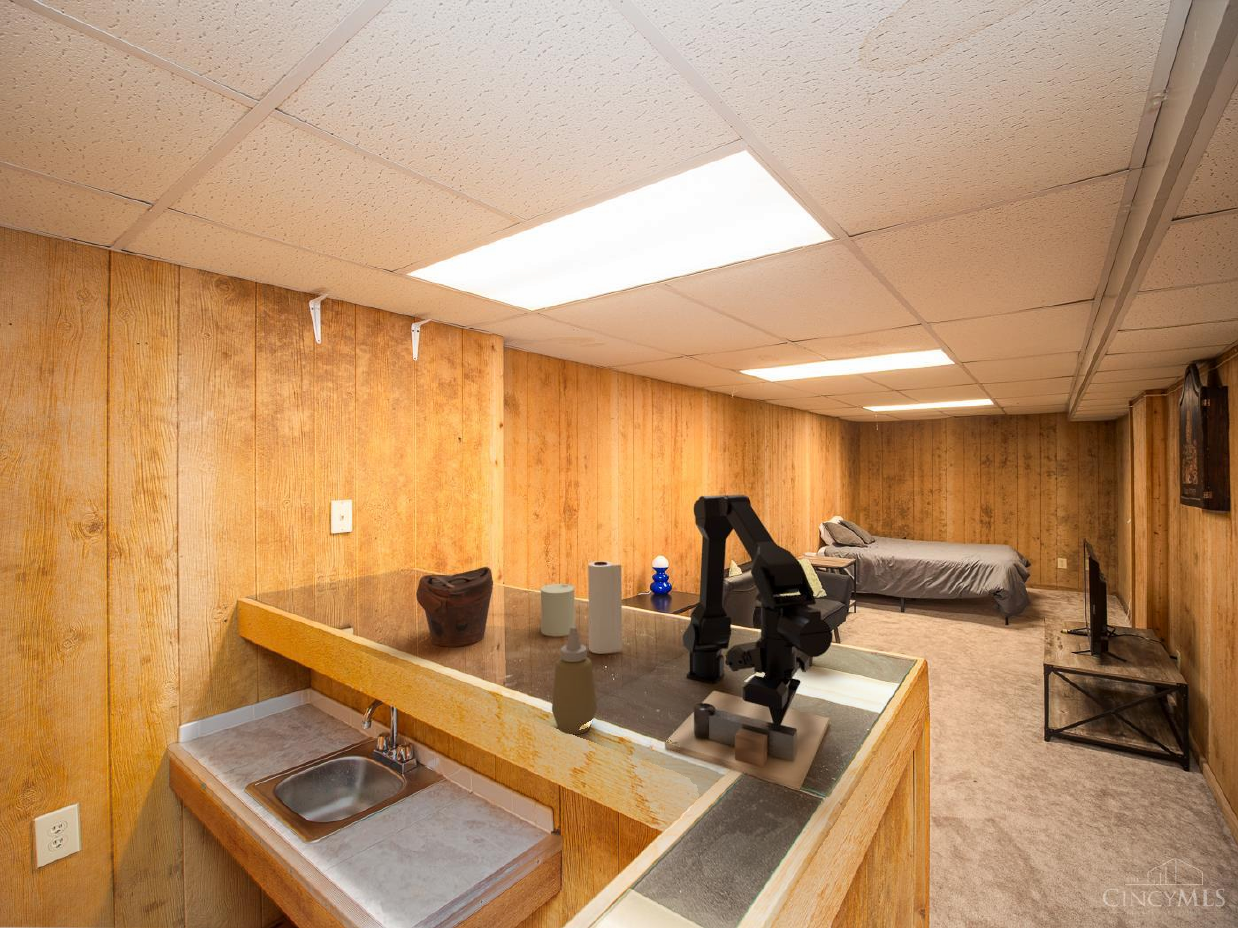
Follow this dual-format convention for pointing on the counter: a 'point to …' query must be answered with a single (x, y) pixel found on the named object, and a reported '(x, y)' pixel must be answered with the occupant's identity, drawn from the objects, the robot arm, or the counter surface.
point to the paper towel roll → (605, 607)
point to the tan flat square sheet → (775, 767)
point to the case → (456, 606)
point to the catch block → (751, 747)
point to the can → (557, 609)
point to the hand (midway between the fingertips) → (777, 724)
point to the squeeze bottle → (573, 687)
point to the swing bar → (727, 725)
